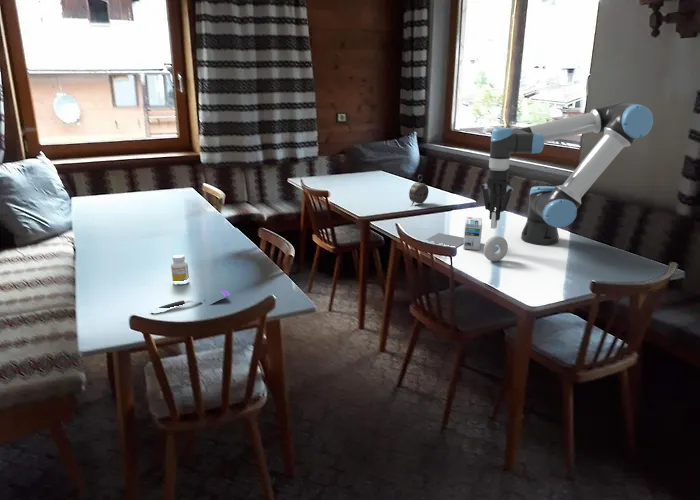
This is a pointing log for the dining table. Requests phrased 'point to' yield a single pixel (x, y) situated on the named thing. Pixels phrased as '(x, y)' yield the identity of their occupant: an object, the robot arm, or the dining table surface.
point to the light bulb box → (472, 233)
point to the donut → (501, 251)
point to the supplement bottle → (179, 268)
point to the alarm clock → (418, 192)
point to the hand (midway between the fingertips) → (493, 227)
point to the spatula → (190, 301)
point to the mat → (447, 239)
